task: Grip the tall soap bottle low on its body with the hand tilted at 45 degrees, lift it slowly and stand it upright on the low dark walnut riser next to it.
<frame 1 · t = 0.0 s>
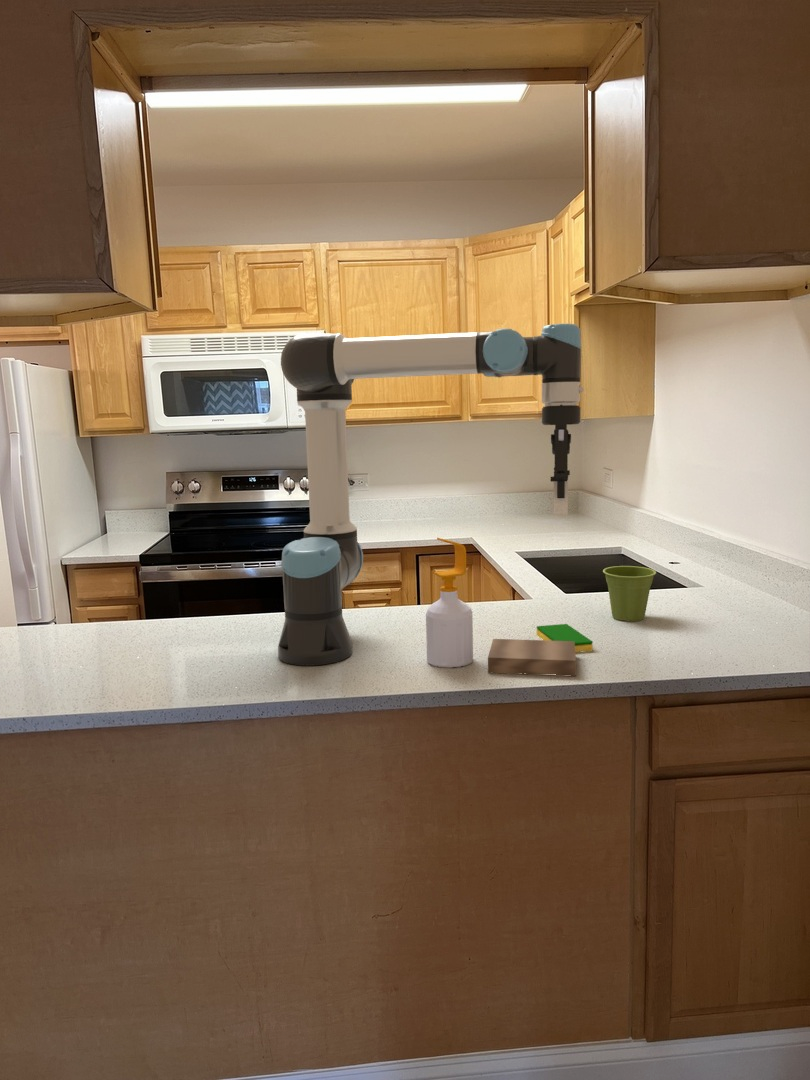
hand: (560, 510, 152), 28 cm above the counter, tool pointing down, fingers open, 13 cm apart
soap bottle: (450, 662, 147), on the counter
dish sponge: (563, 645, 157), on the counter
walnut riser: (532, 664, 144), on the counter
plant pot: (628, 618, 174), on the counter
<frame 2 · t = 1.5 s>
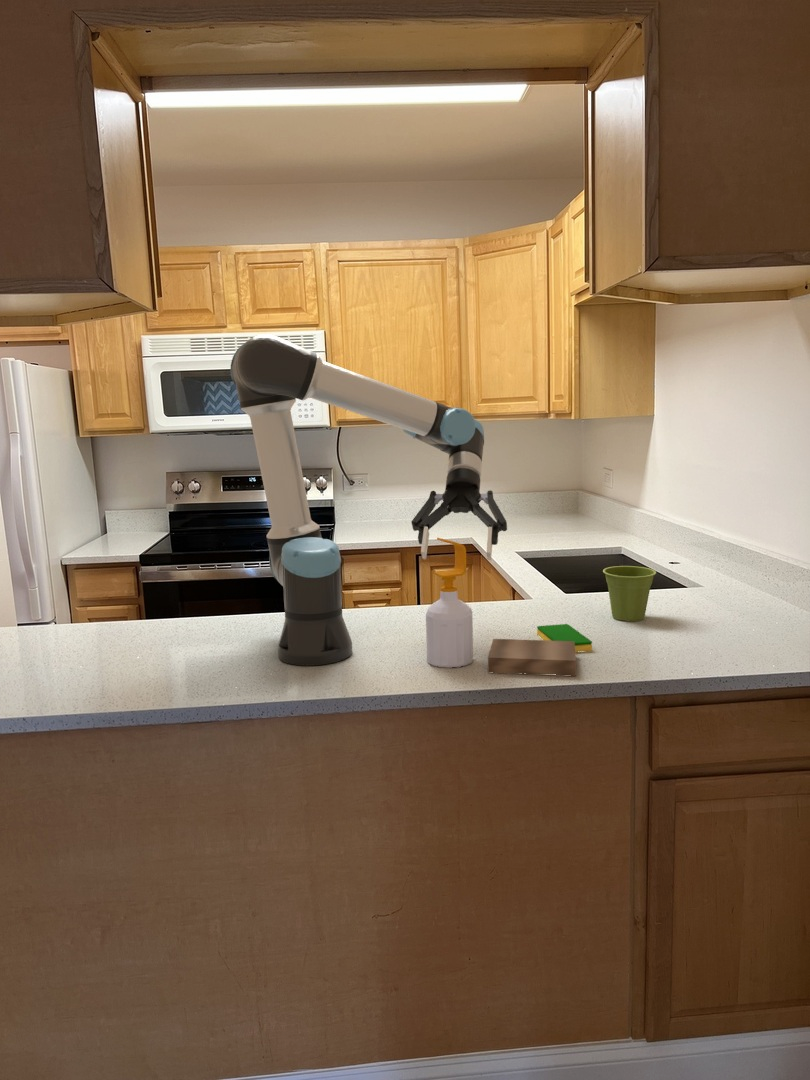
hand: (455, 556, 154), 19 cm above the counter, tool tilted 45°, fingers open, 13 cm apart
nothing on the counter moved.
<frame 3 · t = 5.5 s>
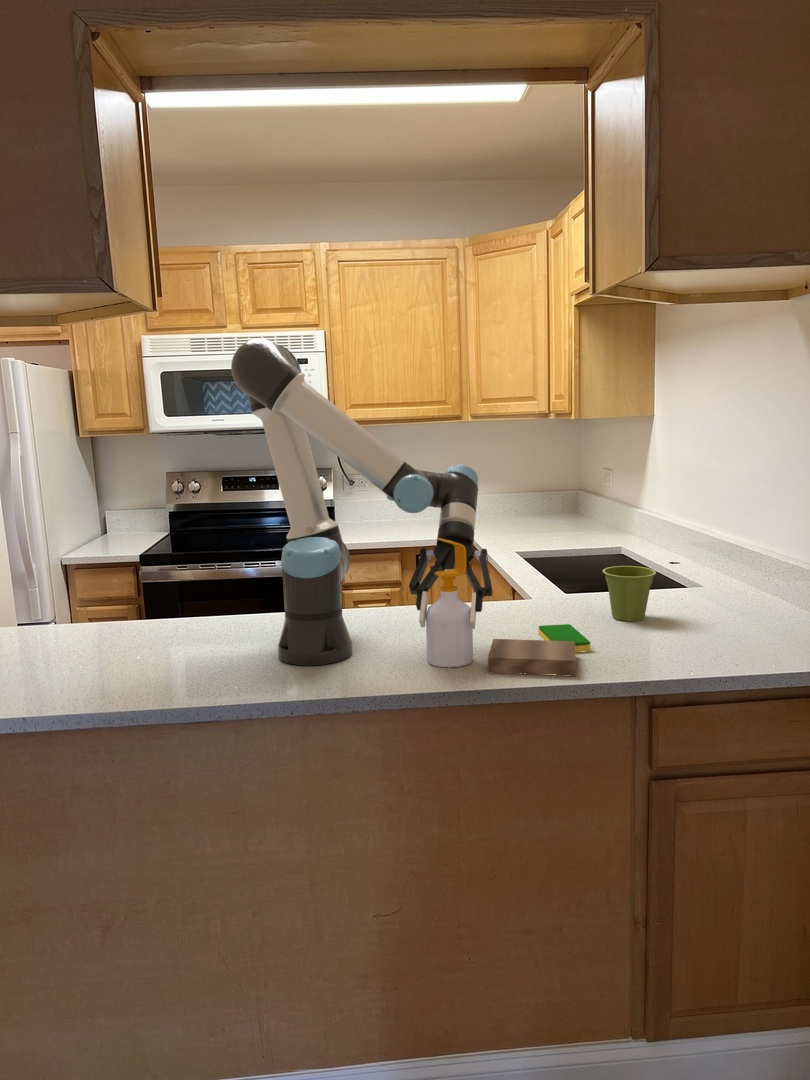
hand: (447, 624, 142), 8 cm above the counter, tool tilted 45°, fingers closed on soap bottle, 9 cm apart
soap bottle: (450, 662, 147), on the counter, touching gripper
everything else where it was.
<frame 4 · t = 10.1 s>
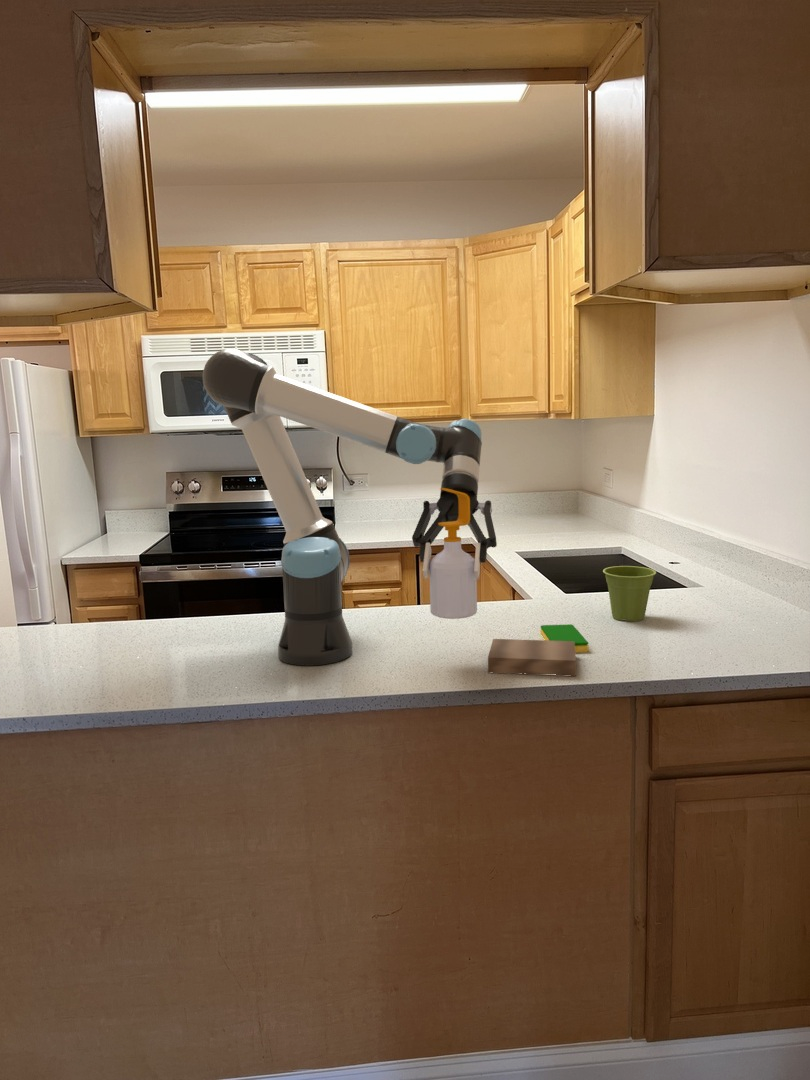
hand: (450, 574, 141), 18 cm above the counter, tool tilted 45°, fingers closed on soap bottle, 9 cm apart
soap bottle: (453, 614, 145), point 9 cm above the counter, touching gripper
everything else where it was.
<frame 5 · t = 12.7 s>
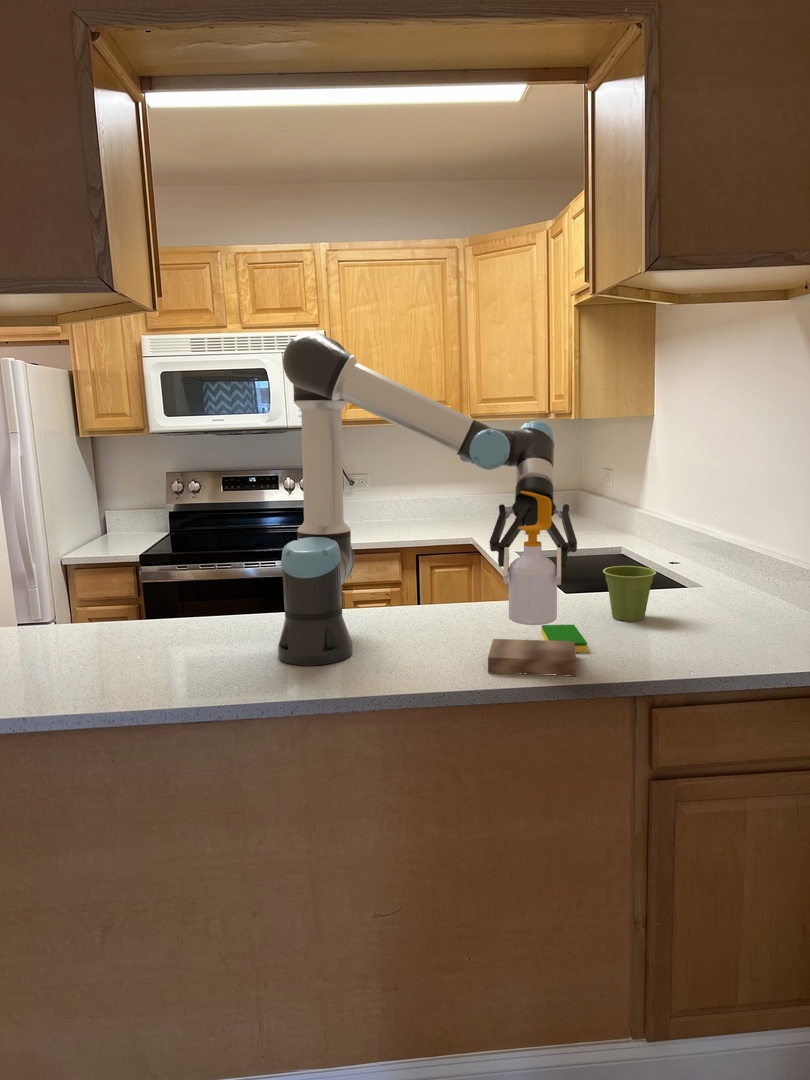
hand: (532, 580, 138), 17 cm above the counter, tool tilted 45°, fingers closed on soap bottle, 9 cm apart
soap bottle: (532, 620, 142), point 9 cm above the counter, touching gripper
everything else where it was.
when the fingers open (13 cm above the counter, at t = 14.8 s): soap bottle drops 1 cm, resting on walnut riser.
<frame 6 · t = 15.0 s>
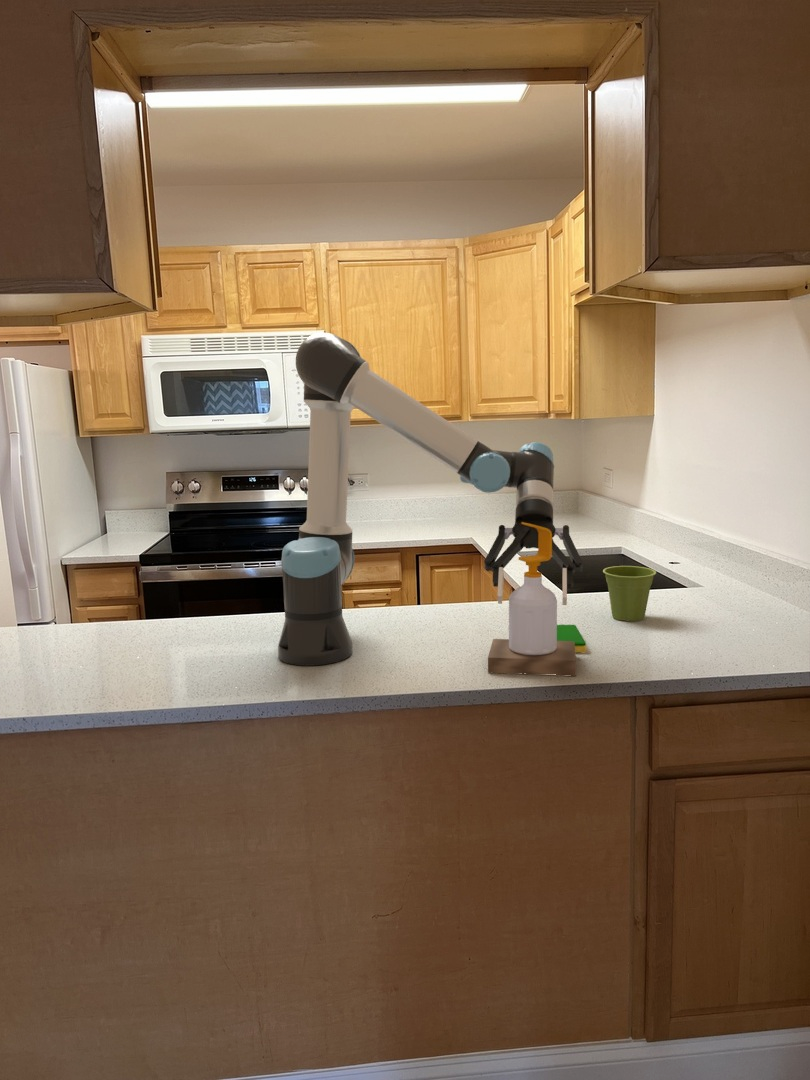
hand: (531, 600, 139), 13 cm above the counter, tool tilted 45°, fingers open, 11 cm apart
soap bottle: (532, 649, 143), point 3 cm above the counter, touching walnut riser
everything else where it was.
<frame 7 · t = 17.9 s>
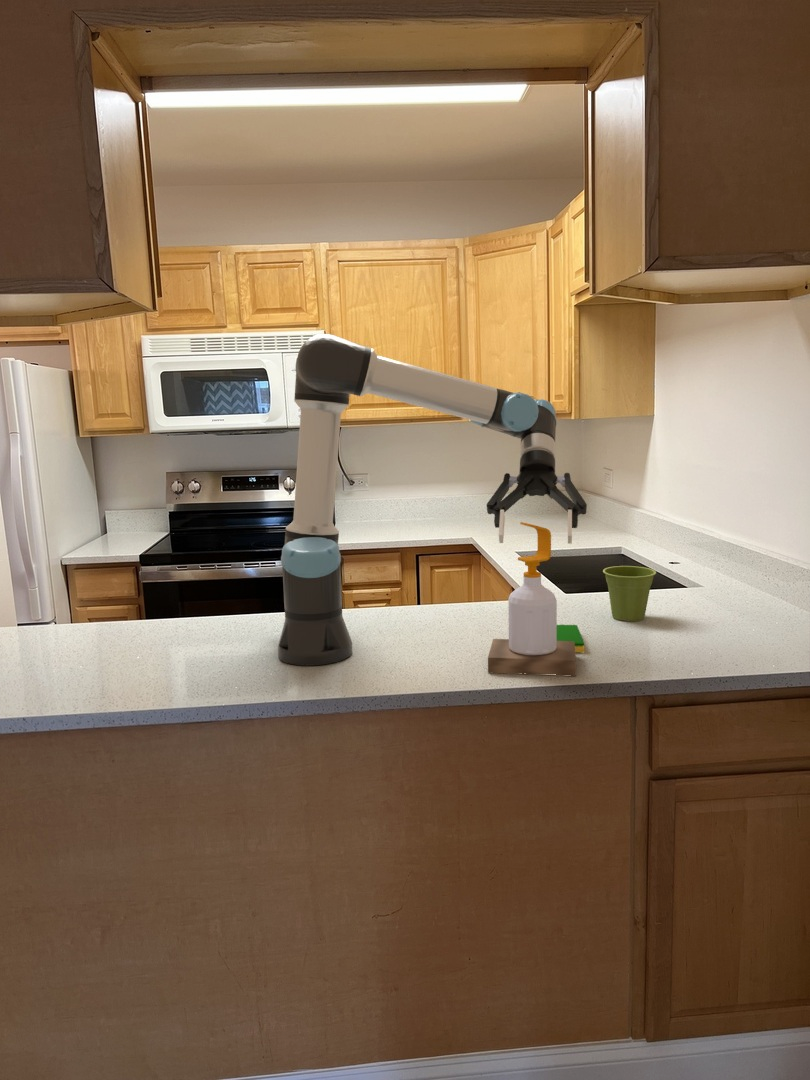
hand: (535, 539, 149), 23 cm above the counter, tool tilted 45°, fingers open, 13 cm apart
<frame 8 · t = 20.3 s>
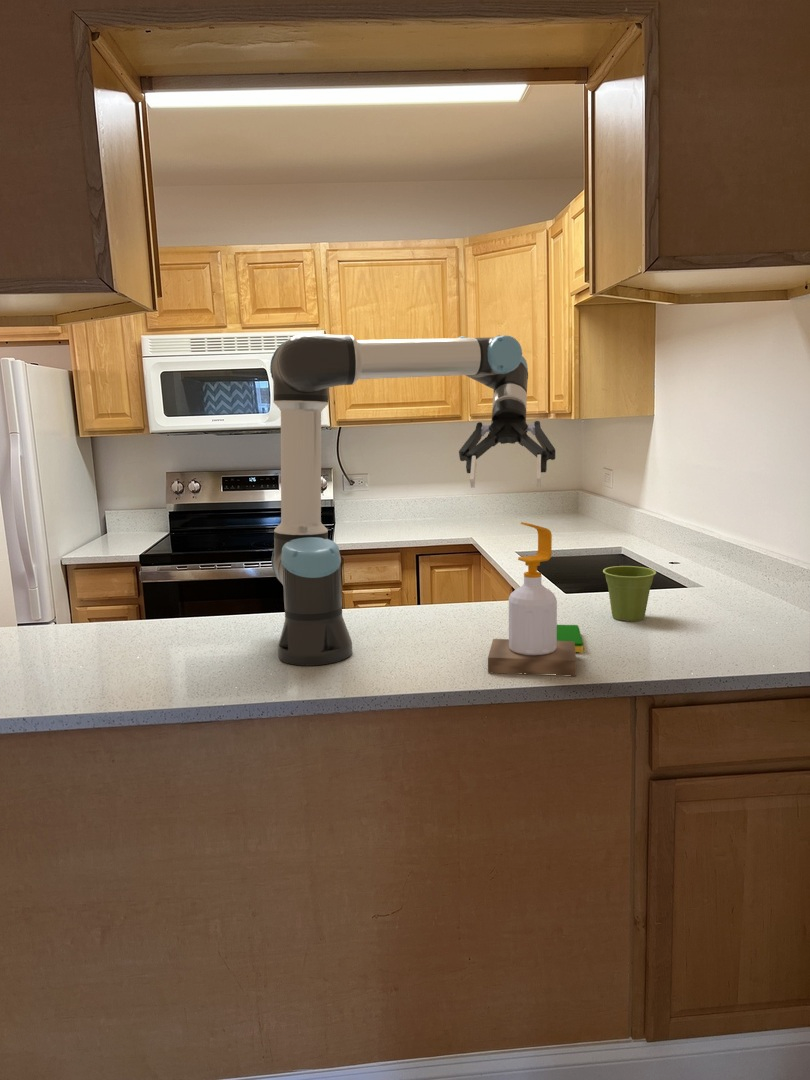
hand: (505, 483, 154), 34 cm above the counter, tool tilted 45°, fingers open, 13 cm apart
at the end: soap bottle inside the target area on the walnut riser (0.1 cm from its centre), point 2.8 cm above the walnut riser's base; soap bottle tilted 0°; the gripper is holding nothing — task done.
